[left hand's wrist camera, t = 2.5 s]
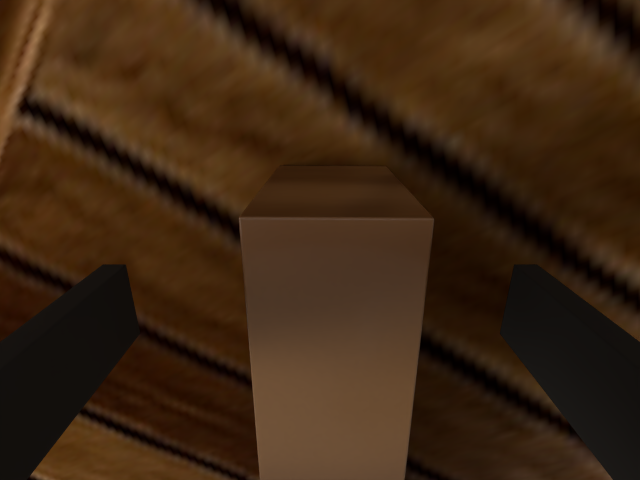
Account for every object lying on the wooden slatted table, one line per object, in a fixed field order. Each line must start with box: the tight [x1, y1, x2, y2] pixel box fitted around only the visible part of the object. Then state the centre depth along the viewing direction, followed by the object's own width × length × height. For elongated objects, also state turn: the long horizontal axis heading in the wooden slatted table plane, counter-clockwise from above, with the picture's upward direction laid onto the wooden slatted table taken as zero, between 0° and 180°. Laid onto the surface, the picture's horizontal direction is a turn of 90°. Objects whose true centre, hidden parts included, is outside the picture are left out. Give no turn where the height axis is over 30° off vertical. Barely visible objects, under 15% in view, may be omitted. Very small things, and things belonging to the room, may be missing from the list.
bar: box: [239, 166, 434, 480], centre depth 18 cm, size 24×5×9 cm, turn 0°
